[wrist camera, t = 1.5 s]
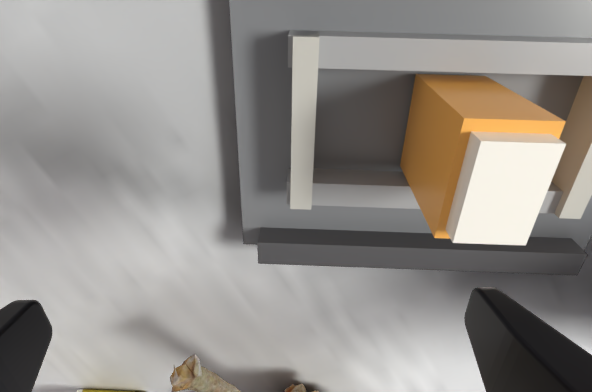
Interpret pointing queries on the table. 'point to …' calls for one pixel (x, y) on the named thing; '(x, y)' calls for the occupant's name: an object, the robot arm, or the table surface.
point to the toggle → (478, 158)
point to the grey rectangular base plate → (415, 252)
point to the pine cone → (207, 379)
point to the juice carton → (87, 391)
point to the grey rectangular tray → (393, 102)
